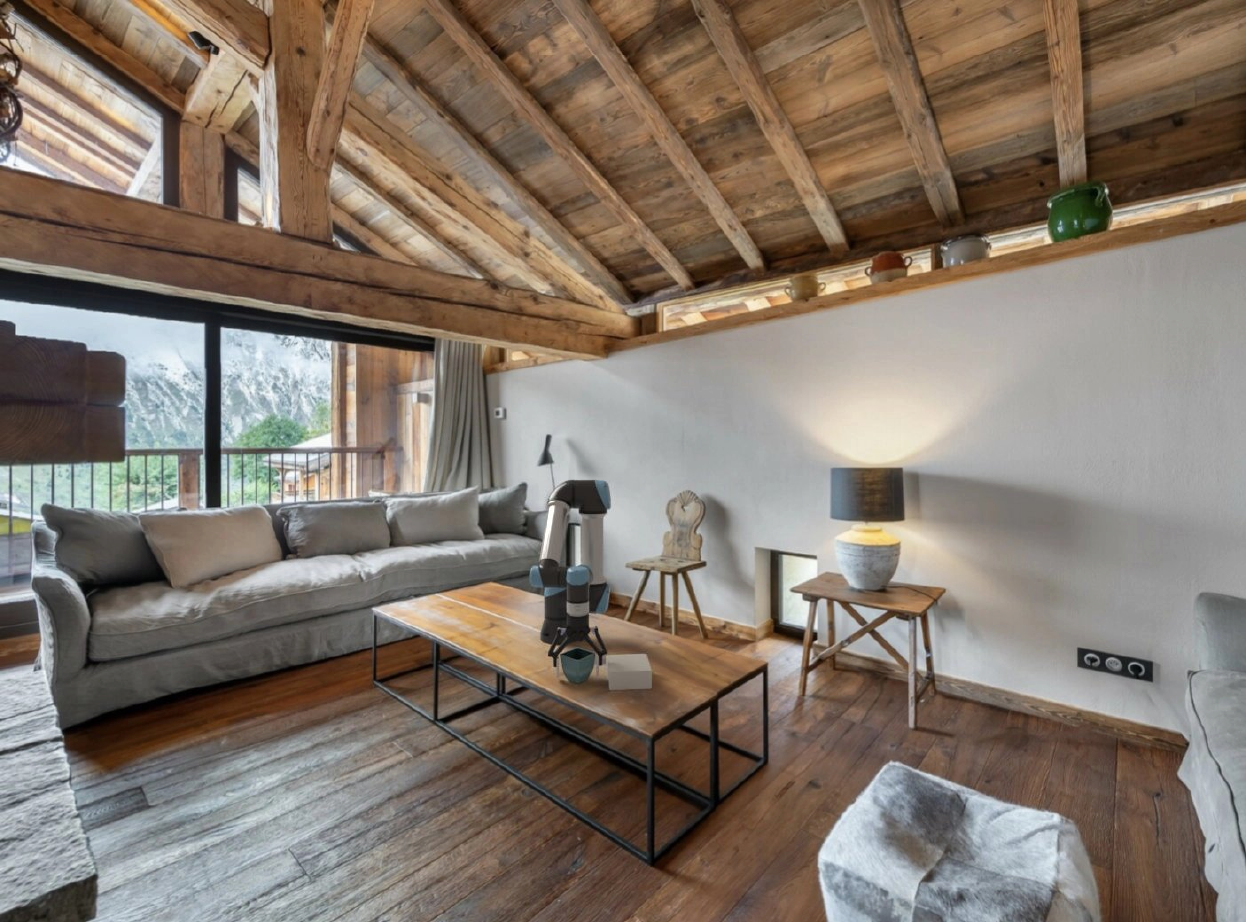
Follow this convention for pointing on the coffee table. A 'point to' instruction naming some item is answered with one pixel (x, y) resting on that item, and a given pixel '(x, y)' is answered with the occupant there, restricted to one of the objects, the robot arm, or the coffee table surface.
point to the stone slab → (628, 672)
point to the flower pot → (577, 664)
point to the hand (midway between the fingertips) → (577, 675)
